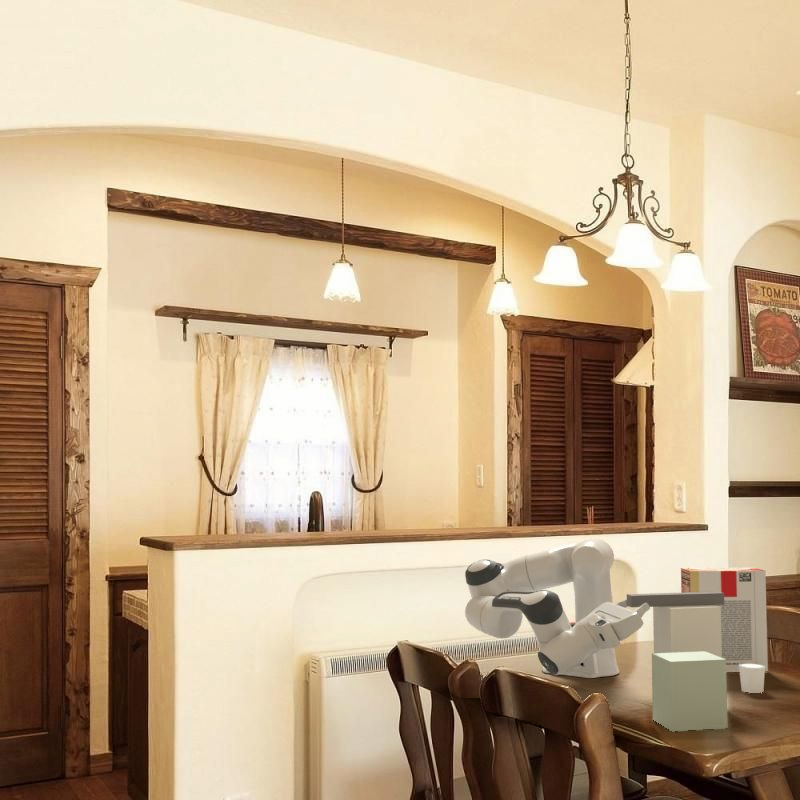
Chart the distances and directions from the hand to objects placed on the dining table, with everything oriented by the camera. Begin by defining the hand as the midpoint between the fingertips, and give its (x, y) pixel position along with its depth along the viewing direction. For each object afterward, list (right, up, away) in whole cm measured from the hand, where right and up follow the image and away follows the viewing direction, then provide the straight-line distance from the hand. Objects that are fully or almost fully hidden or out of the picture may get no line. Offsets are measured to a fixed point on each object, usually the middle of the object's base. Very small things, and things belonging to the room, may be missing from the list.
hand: (639, 602), depth 248 cm
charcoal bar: (+10, -1, +2) cm, 10 cm away
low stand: (+7, -25, -20) cm, 33 cm away
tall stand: (+13, -26, +1) cm, 29 cm away
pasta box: (+36, -29, +40) cm, 61 cm away
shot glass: (+34, -27, +13) cm, 45 cm away
